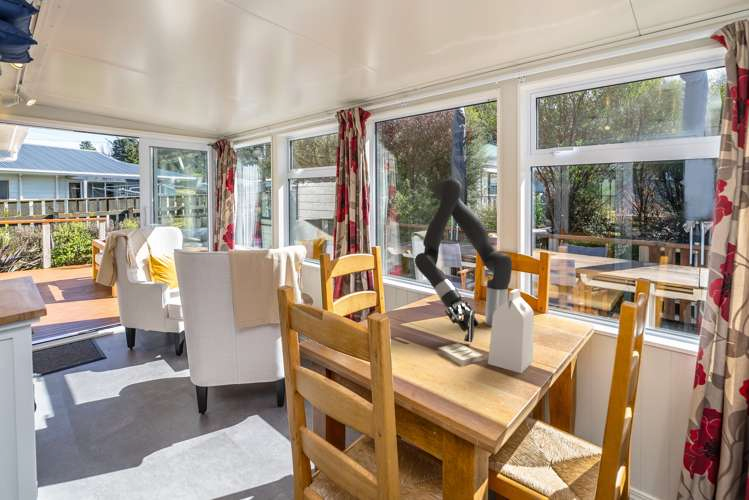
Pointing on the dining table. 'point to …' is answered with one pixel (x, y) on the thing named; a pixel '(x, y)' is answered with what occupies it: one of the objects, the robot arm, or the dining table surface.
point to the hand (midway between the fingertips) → (471, 327)
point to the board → (460, 354)
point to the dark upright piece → (469, 324)
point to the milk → (512, 334)
